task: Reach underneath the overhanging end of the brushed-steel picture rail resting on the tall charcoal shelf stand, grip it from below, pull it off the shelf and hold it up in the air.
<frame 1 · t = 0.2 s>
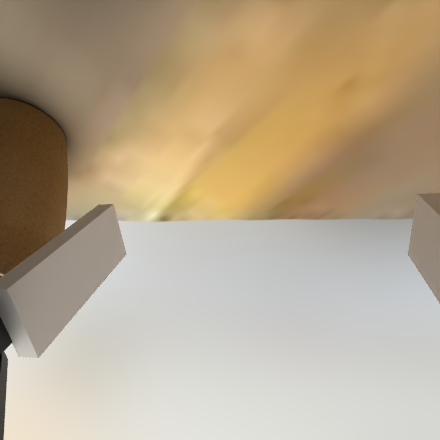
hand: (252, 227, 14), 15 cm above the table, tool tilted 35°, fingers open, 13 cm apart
plant pot: (27, 128, 32), on the table
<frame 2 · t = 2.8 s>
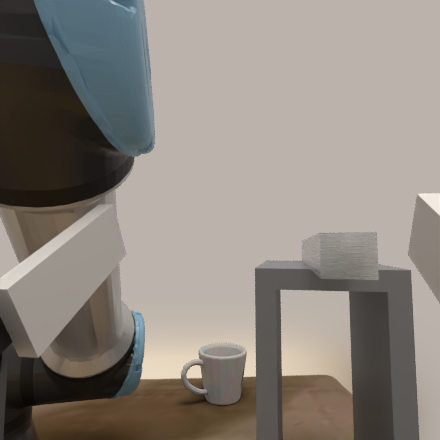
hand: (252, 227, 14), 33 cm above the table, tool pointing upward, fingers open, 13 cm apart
mug: (213, 400, 68), on the table
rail: (325, 267, 33), point 30 cm above the table, touching shelf
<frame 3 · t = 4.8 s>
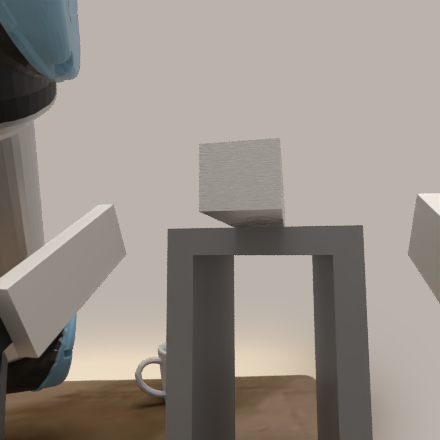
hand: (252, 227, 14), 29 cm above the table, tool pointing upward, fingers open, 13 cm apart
mug: (173, 403, 61), on the table
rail: (262, 229, 26), point 30 cm above the table, touching shelf
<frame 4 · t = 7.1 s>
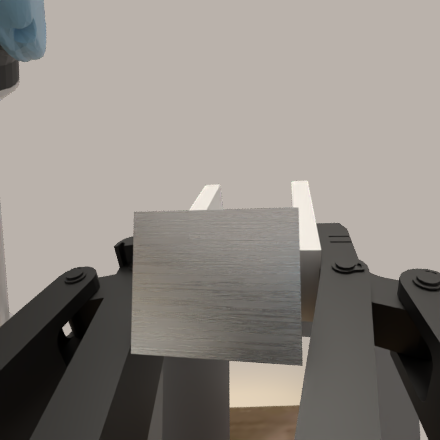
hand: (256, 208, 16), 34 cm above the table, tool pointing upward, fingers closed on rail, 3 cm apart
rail: (262, 286, 19), point 30 cm above the table, touching gripper, shelf
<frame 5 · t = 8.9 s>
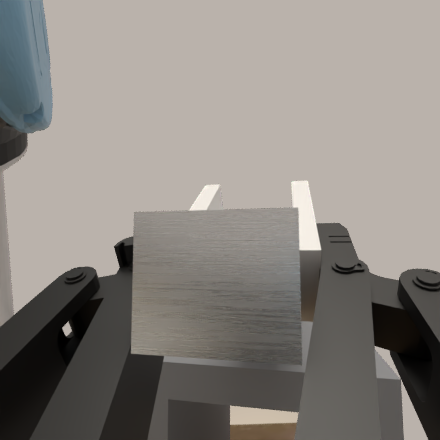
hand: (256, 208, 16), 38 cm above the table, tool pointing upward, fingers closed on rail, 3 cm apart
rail: (262, 286, 19), point 34 cm above the table, touching gripper
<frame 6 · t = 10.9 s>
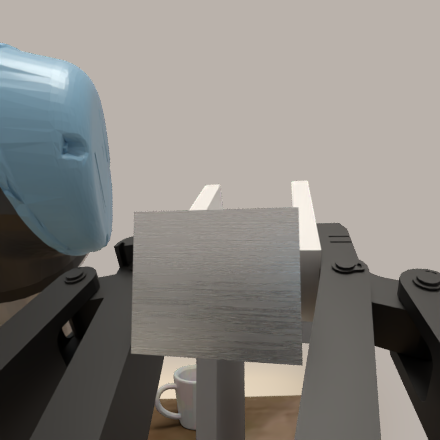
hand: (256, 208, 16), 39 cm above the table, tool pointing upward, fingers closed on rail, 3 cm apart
mug: (187, 424, 68), on the table
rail: (263, 286, 19), point 34 cm above the table, touching gripper
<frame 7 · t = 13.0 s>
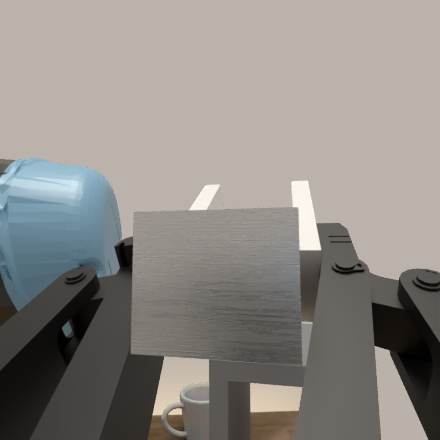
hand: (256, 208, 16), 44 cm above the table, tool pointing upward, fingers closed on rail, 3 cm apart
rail: (262, 286, 19), point 39 cm above the table, touching gripper
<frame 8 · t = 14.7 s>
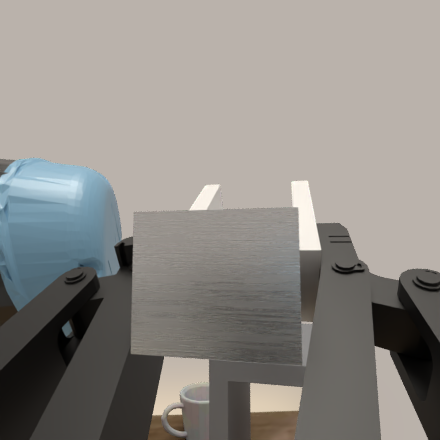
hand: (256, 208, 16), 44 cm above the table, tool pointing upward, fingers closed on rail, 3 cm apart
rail: (262, 286, 19), point 39 cm above the table, touching gripper
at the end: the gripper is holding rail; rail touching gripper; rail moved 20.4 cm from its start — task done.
